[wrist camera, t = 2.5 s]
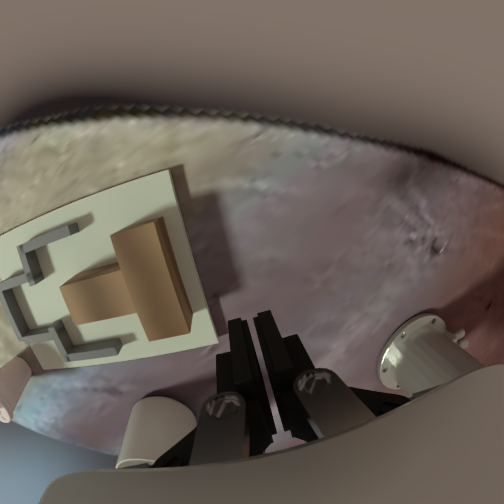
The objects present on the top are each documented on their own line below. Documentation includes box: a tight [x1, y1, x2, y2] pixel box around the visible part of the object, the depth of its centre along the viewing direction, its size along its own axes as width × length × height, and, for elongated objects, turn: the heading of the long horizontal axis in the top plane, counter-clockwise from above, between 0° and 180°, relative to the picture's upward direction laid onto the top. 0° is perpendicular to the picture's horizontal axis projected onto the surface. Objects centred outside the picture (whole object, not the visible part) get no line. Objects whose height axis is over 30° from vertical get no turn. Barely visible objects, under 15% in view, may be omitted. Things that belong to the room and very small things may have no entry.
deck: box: [0, 170, 218, 370], centre depth 25 cm, size 25×18×3 cm
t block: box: [59, 216, 193, 342], centre depth 24 cm, size 11×10×4 cm
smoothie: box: [0, 357, 32, 423], centre depth 21 cm, size 6×6×14 cm
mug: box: [116, 396, 197, 469], centre depth 27 cm, size 12×9×11 cm
